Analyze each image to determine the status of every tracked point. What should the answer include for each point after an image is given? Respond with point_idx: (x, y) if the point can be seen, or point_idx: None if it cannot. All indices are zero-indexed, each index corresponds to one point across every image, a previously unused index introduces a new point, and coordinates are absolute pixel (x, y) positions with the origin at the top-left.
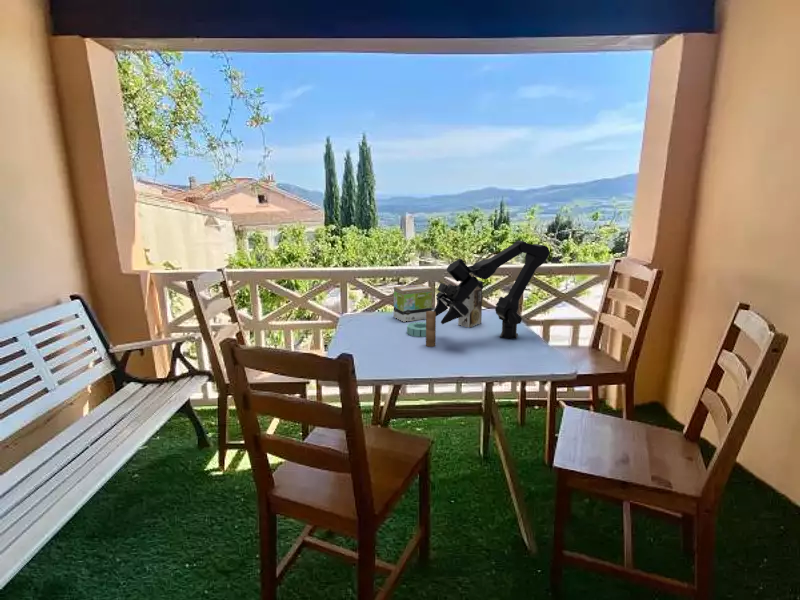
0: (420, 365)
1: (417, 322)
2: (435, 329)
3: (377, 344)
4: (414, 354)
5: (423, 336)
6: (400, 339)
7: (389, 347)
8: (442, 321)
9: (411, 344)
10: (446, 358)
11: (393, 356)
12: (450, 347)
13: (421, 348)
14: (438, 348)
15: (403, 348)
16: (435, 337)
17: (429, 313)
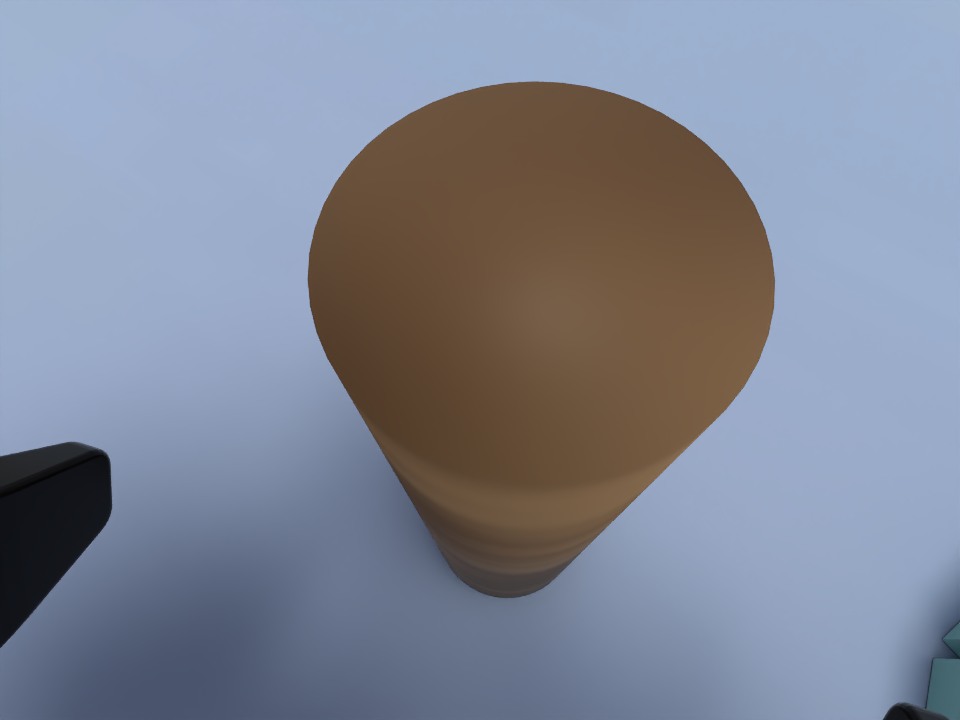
0: (103, 86)
1: None
2: (431, 533)
3: (853, 71)
4: None
5: (931, 700)
6: (933, 340)
7: (702, 112)
8: (22, 469)
9: None
10: (14, 377)
11: (448, 31)
12: (245, 716)
13: None
14: (334, 529)
15: None
16: (450, 562)
17: (419, 123)
